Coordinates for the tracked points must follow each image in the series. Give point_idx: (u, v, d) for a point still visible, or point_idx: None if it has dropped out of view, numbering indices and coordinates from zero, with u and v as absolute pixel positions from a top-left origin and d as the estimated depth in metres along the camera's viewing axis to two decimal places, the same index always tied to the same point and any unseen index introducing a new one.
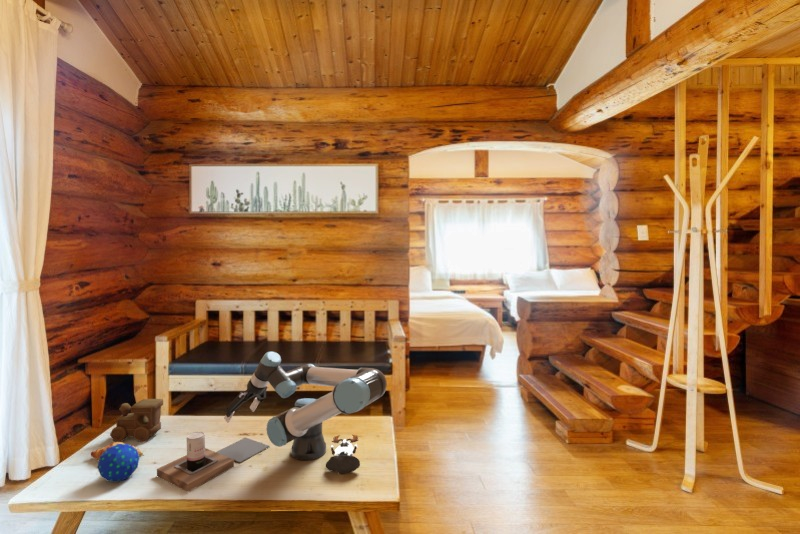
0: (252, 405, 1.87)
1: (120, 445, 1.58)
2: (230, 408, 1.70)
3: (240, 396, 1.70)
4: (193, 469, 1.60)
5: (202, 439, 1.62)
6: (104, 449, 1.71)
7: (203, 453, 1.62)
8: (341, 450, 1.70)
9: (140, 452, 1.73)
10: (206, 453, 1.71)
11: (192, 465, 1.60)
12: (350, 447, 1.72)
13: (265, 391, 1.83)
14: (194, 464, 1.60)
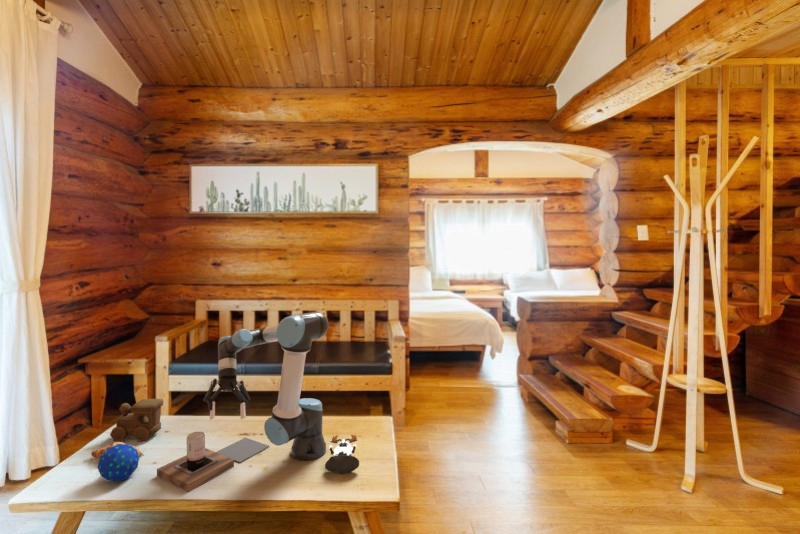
0: (241, 413, 1.76)
1: (120, 445, 1.58)
2: (207, 394, 1.68)
3: (212, 381, 1.73)
4: (193, 469, 1.60)
5: (202, 439, 1.62)
6: (104, 449, 1.71)
7: (203, 453, 1.62)
8: (340, 450, 1.70)
9: (140, 452, 1.72)
10: (206, 453, 1.71)
11: (192, 465, 1.60)
12: (349, 447, 1.72)
13: (244, 387, 1.82)
14: (194, 464, 1.60)
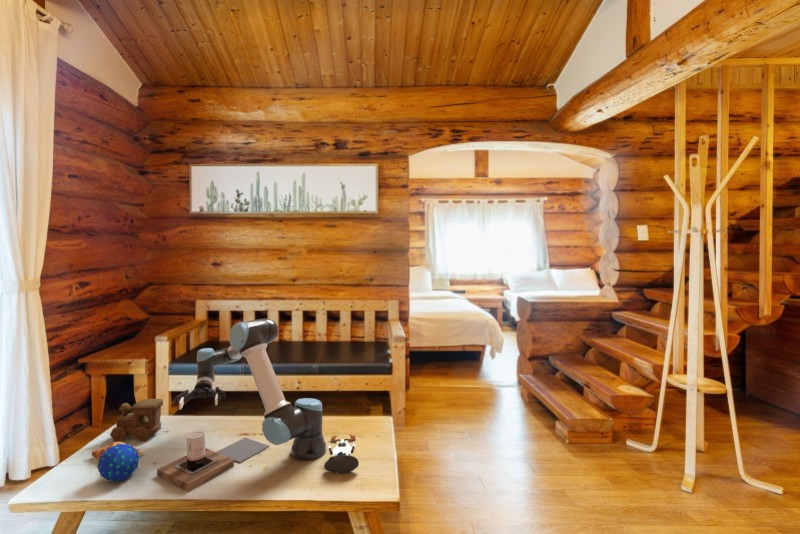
0: None
1: (120, 445, 1.58)
2: None
3: None
4: (193, 469, 1.60)
5: (202, 439, 1.62)
6: (105, 449, 1.71)
7: (203, 453, 1.62)
8: (339, 450, 1.70)
9: (140, 452, 1.72)
10: (206, 453, 1.71)
11: (192, 465, 1.60)
12: (348, 447, 1.72)
13: (218, 389, 1.86)
14: (194, 464, 1.60)
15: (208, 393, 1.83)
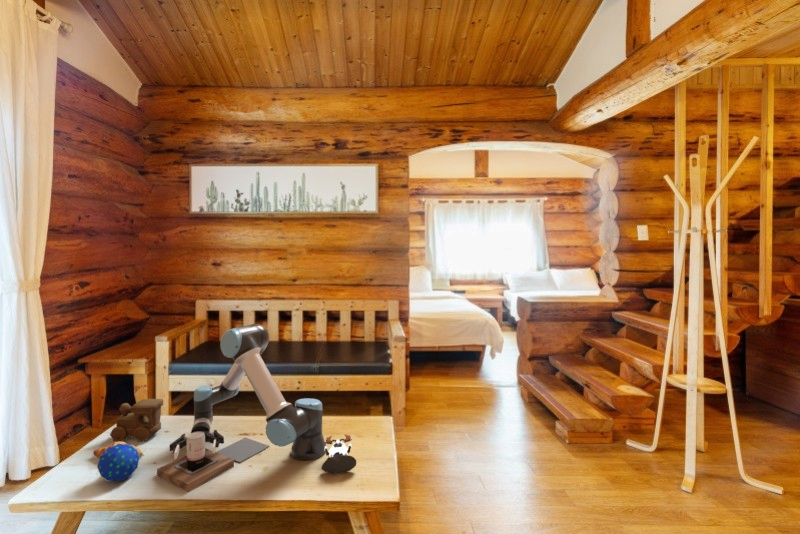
0: None
1: (120, 445, 1.58)
2: None
3: None
4: (193, 469, 1.60)
5: (202, 439, 1.62)
6: (106, 448, 1.71)
7: (203, 453, 1.62)
8: (335, 451, 1.70)
9: (140, 452, 1.72)
10: (206, 453, 1.71)
11: (192, 465, 1.60)
12: (344, 447, 1.72)
13: (217, 432, 1.75)
14: (194, 464, 1.60)
15: (206, 438, 1.72)
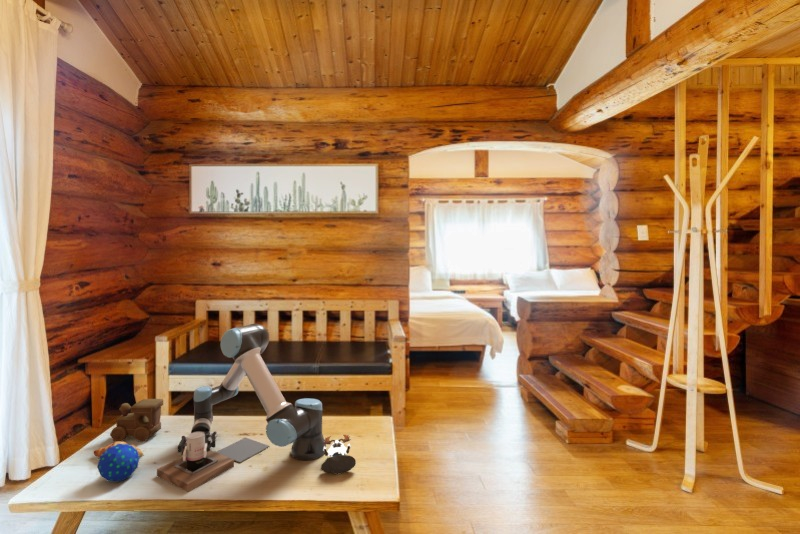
0: None
1: (120, 445, 1.58)
2: None
3: (181, 439, 1.70)
4: (193, 469, 1.60)
5: (202, 439, 1.62)
6: (106, 448, 1.71)
7: (203, 453, 1.62)
8: (334, 451, 1.70)
9: (140, 452, 1.72)
10: None
11: (192, 465, 1.60)
12: (343, 447, 1.72)
13: (214, 435, 1.73)
14: (195, 464, 1.60)
15: None
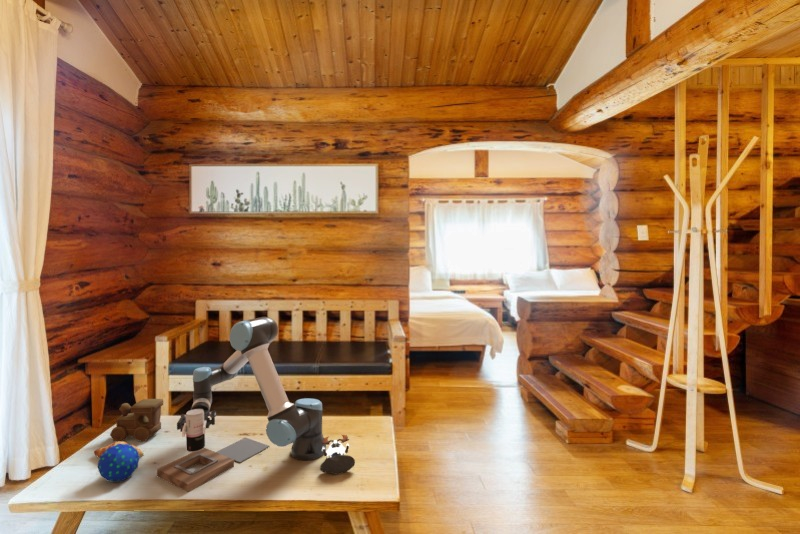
0: None
1: (120, 445, 1.58)
2: None
3: (181, 417, 1.70)
4: (192, 445, 1.59)
5: (201, 416, 1.61)
6: (106, 448, 1.72)
7: (202, 429, 1.62)
8: (333, 451, 1.70)
9: (140, 452, 1.72)
10: (206, 453, 1.71)
11: (191, 441, 1.59)
12: (342, 447, 1.72)
13: (213, 413, 1.72)
14: (194, 440, 1.59)
15: None
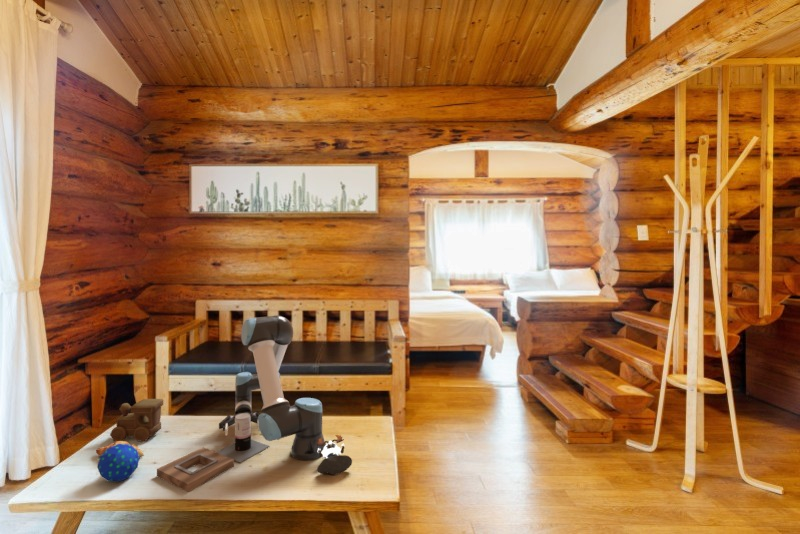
0: None
1: (120, 445, 1.58)
2: None
3: None
4: (241, 446, 1.77)
5: (249, 419, 1.79)
6: (107, 447, 1.72)
7: (249, 432, 1.79)
8: (329, 452, 1.69)
9: (140, 453, 1.72)
10: (206, 453, 1.71)
11: (240, 442, 1.77)
12: (337, 447, 1.71)
13: (259, 413, 1.92)
14: (242, 442, 1.77)
15: None
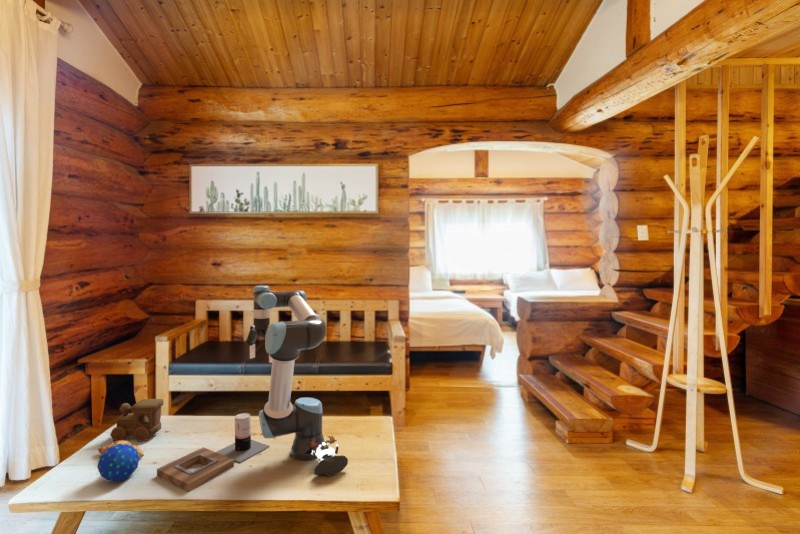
0: None
1: (120, 445, 1.58)
2: None
3: None
4: (241, 446, 1.77)
5: (249, 419, 1.79)
6: (109, 447, 1.73)
7: (249, 432, 1.79)
8: (323, 453, 1.68)
9: (140, 453, 1.72)
10: (206, 453, 1.71)
11: (240, 442, 1.77)
12: (331, 448, 1.71)
13: None
14: (242, 442, 1.77)
15: None
